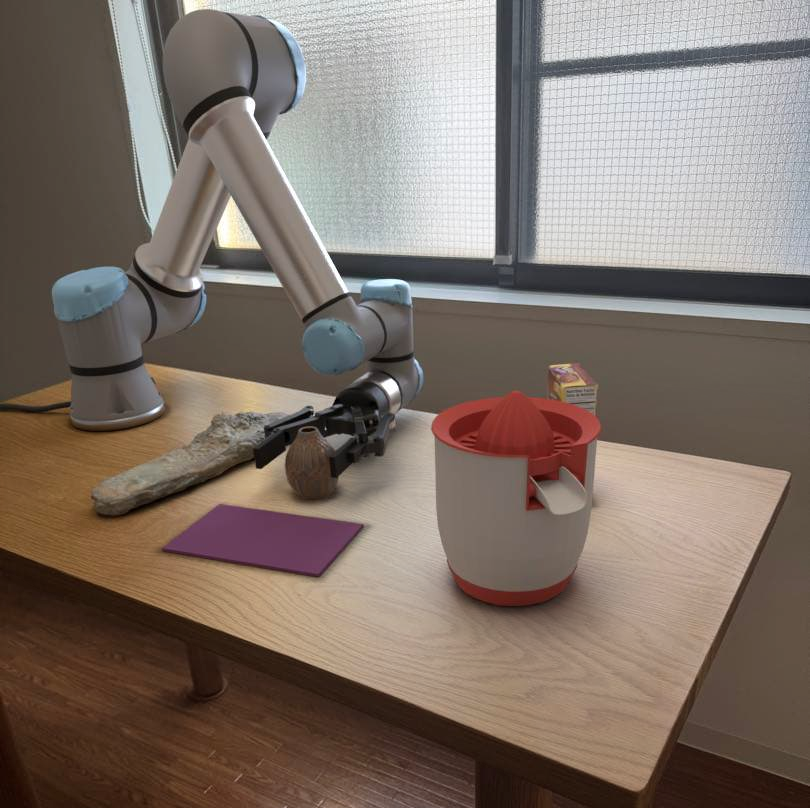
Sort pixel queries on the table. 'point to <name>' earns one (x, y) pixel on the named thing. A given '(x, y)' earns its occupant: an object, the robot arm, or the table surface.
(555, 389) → the candy box
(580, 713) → the table surface
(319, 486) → the vase
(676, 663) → the table surface
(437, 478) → the citrus juicer
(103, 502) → the long grey stone
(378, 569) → the table surface
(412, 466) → the table surface
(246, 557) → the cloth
